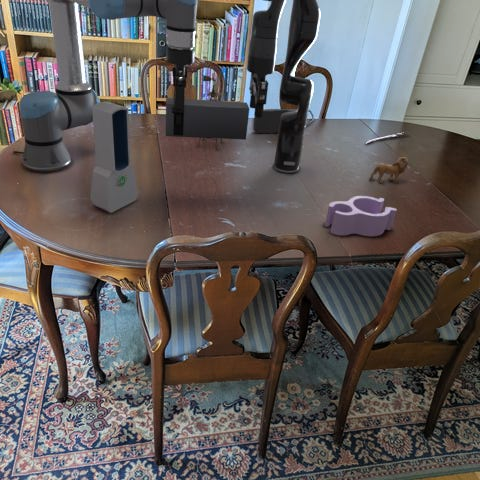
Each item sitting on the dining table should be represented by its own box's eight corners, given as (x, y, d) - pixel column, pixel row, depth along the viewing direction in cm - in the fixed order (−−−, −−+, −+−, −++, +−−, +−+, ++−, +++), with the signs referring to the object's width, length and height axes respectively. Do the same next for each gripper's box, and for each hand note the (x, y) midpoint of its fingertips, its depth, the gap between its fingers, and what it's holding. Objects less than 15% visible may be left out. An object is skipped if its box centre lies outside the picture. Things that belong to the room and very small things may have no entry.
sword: (404, 132, 223) (404, 129, 222) (409, 134, 221) (409, 132, 220) (360, 143, 207) (361, 141, 206) (365, 146, 205) (366, 143, 204)
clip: (337, 240, 135) (342, 219, 131) (318, 218, 145) (322, 198, 141) (395, 233, 141) (402, 213, 137) (373, 213, 151) (378, 194, 147)
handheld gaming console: (299, 130, 212) (303, 108, 207) (302, 132, 210) (305, 110, 205) (252, 131, 205) (254, 109, 200) (254, 133, 203) (257, 111, 198)
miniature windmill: (217, 149, 184) (223, 71, 168) (196, 146, 185) (200, 68, 169) (222, 142, 191) (228, 66, 175) (203, 138, 192) (206, 63, 176)
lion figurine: (397, 176, 178) (404, 154, 173) (406, 182, 174) (413, 159, 169) (364, 178, 173) (370, 156, 168) (373, 185, 169) (379, 162, 164)
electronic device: (108, 214, 135) (101, 113, 119) (90, 206, 138) (81, 106, 122) (138, 199, 144) (135, 103, 128) (120, 191, 147) (115, 96, 131)
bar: (165, 136, 134) (166, 103, 128) (165, 129, 138) (166, 97, 133) (245, 139, 138) (249, 108, 132) (243, 133, 142) (246, 102, 137)
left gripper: (196, 56, 116) (192, 143, 129) (193, 40, 131) (189, 120, 144) (166, 53, 115) (164, 142, 128) (166, 38, 130) (164, 119, 143)
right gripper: (280, 60, 122) (272, 121, 131) (270, 49, 134) (263, 105, 142) (252, 59, 121) (246, 120, 129) (244, 47, 132) (239, 104, 141)
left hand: (177, 130), depth 136 cm, fingers closed on bar, 5 cm apart
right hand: (255, 112), depth 136 cm, fingers open, 8 cm apart
